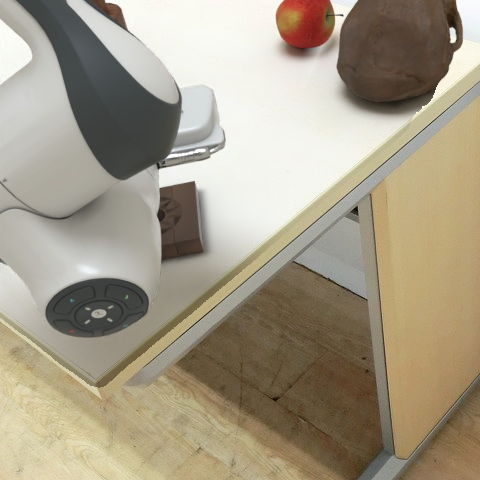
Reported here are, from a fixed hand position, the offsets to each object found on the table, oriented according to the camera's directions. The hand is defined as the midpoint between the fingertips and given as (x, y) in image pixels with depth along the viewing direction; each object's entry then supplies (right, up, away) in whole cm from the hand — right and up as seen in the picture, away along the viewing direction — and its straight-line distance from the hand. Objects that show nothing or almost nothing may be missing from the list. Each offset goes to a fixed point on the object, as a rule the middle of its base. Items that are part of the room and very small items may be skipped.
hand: (109, 90), depth 75 cm
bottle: (-8, +7, +35) cm, 37 cm away
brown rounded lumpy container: (+32, +9, +31) cm, 45 cm away
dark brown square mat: (+2, -13, +11) cm, 18 cm away
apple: (+14, +16, +37) cm, 42 cm away
